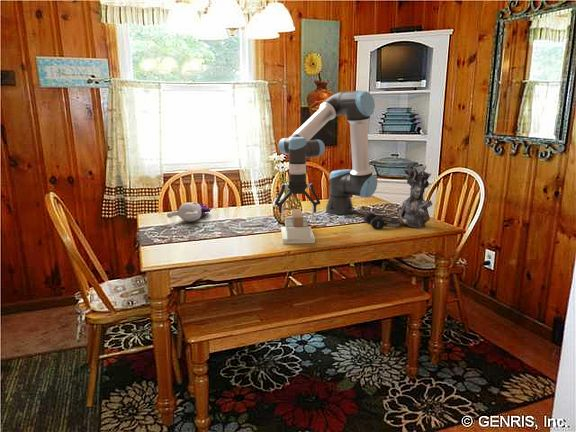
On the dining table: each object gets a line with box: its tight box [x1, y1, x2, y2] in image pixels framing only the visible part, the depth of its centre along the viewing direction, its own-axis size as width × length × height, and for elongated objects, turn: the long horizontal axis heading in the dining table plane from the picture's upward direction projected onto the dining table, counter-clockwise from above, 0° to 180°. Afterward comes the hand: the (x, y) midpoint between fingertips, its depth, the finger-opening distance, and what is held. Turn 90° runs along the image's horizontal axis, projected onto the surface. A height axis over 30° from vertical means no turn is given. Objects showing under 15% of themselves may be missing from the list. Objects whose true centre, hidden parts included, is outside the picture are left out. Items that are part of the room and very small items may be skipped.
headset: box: [361, 205, 401, 230], centre depth 217 cm, size 14×10×20 cm
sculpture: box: [398, 164, 433, 229], centre depth 214 cm, size 14×15×30 cm
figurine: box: [166, 202, 213, 222], centre depth 228 cm, size 16×10×30 cm
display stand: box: [280, 215, 316, 245], centre depth 200 cm, size 19×14×7 cm
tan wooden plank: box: [291, 208, 303, 227], centre depth 198 cm, size 15×4×5 cm, turn 3°
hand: (297, 219), depth 198 cm, fingers open, 13 cm apart
